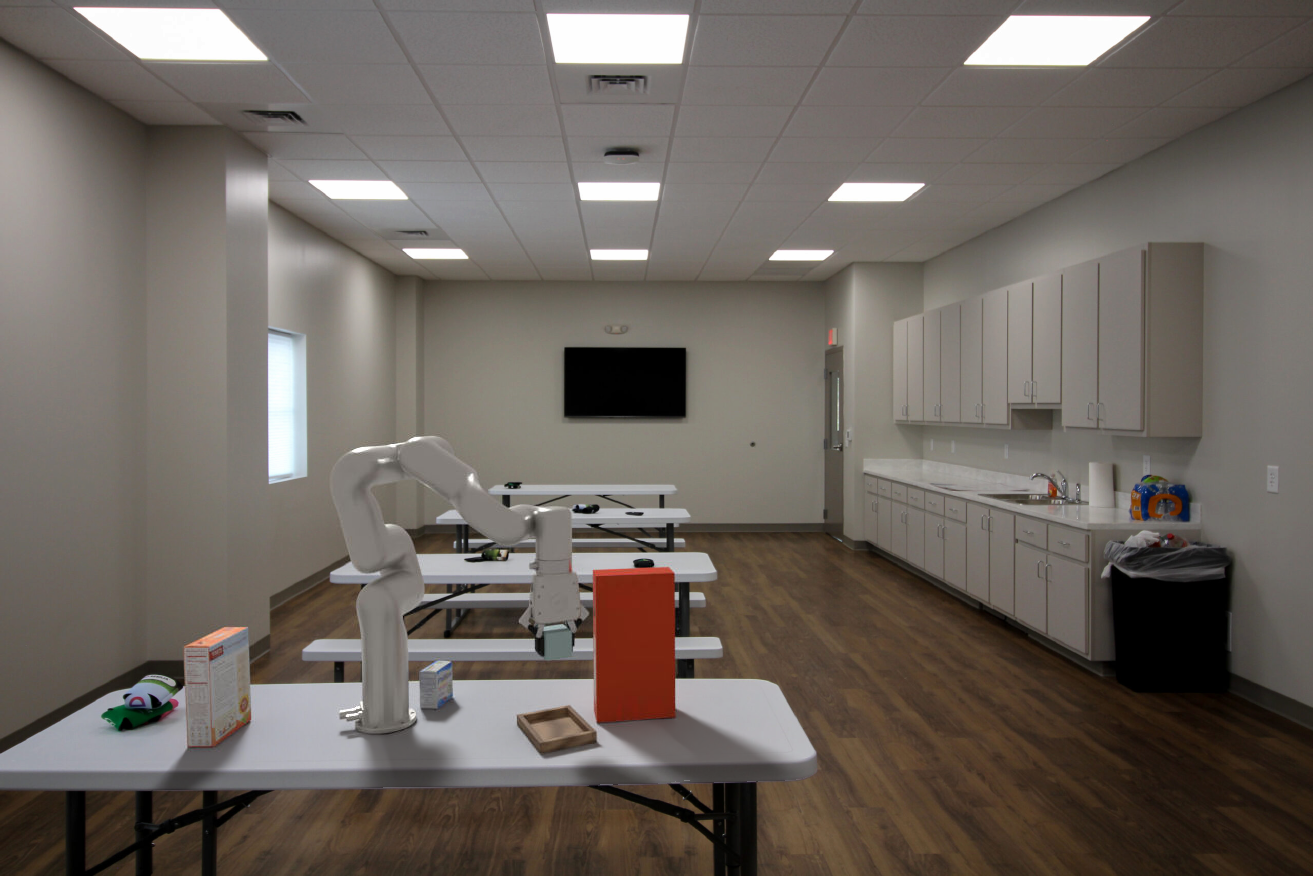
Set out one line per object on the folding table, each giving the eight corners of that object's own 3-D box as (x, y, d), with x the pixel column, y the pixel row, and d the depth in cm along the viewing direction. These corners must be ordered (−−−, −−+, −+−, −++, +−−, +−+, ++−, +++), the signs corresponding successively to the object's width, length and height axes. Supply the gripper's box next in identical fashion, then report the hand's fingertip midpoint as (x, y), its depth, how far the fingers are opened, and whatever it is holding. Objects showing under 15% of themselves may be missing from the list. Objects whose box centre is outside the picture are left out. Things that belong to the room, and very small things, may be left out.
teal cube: (546, 660, 157) (546, 634, 156) (538, 653, 161) (537, 627, 161) (572, 656, 159) (571, 630, 159) (563, 649, 164) (562, 624, 164)
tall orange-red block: (593, 709, 174) (592, 569, 173) (668, 704, 176) (668, 566, 175) (596, 724, 166) (595, 576, 165) (675, 718, 169) (674, 573, 167)
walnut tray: (539, 754, 151) (539, 743, 151) (516, 724, 165) (516, 714, 165) (596, 742, 156) (596, 731, 156) (569, 714, 171) (569, 705, 171)
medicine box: (437, 710, 174) (436, 672, 174) (419, 708, 175) (418, 670, 175) (453, 697, 182) (452, 661, 181) (435, 696, 183) (435, 659, 182)
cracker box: (225, 720, 168) (223, 625, 168) (252, 720, 168) (250, 626, 168) (184, 748, 154) (181, 645, 154) (213, 748, 154) (211, 645, 154)
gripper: (519, 573, 152) (520, 664, 153) (599, 565, 160) (599, 651, 161) (508, 567, 159) (509, 653, 160) (586, 559, 167) (586, 642, 167)
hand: (554, 651), depth 160 cm, fingers closed on teal cube, 5 cm apart
